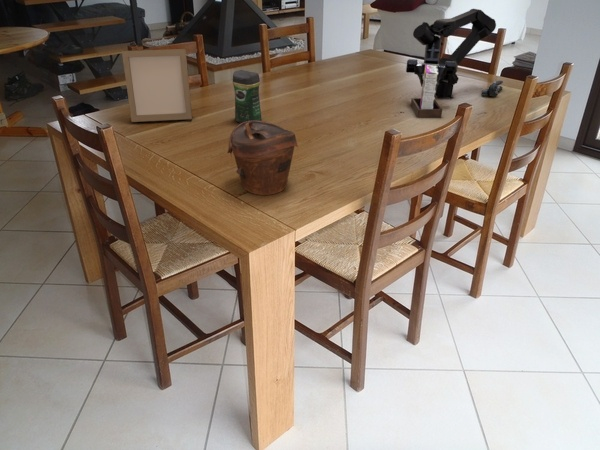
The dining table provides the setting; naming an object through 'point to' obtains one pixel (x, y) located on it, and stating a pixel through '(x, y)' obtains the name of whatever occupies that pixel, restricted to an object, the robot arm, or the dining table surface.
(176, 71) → the photo frame
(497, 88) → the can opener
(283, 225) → the dining table surface
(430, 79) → the candy bar box
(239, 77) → the coffee jar
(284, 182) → the brown bucket
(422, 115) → the compartment
